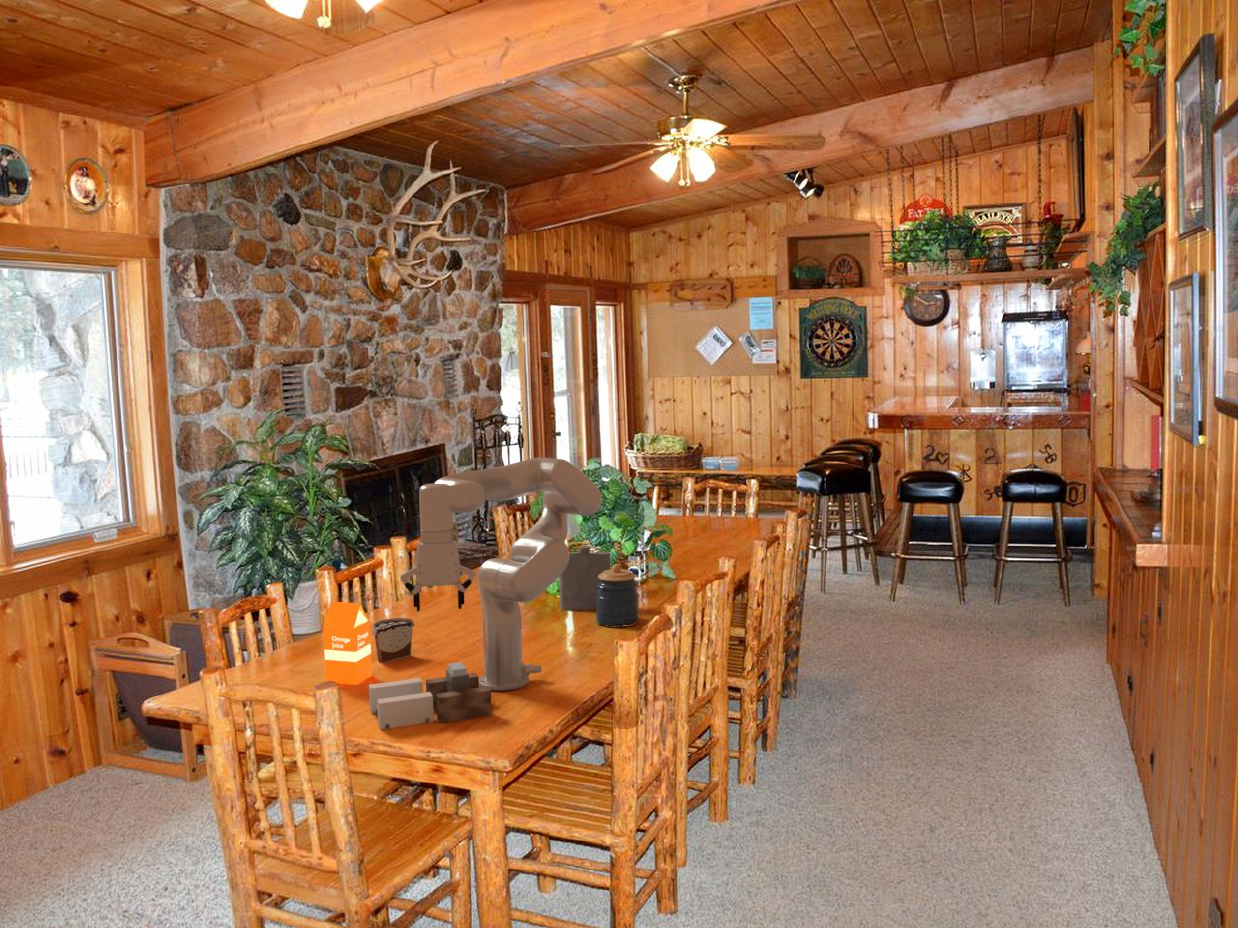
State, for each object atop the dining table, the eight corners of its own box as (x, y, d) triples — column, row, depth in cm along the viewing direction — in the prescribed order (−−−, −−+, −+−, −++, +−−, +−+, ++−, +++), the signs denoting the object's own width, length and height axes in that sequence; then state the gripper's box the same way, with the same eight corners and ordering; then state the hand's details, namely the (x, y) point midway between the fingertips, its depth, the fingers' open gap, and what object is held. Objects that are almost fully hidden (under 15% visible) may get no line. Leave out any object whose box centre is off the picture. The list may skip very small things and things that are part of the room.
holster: (475, 696, 265) (475, 672, 264) (491, 715, 252) (490, 690, 251) (426, 704, 260) (425, 679, 260) (440, 723, 248) (439, 697, 247)
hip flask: (610, 605, 348) (609, 543, 346) (611, 609, 344) (610, 546, 342) (560, 607, 347) (558, 545, 344) (560, 611, 343) (559, 548, 340)
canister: (631, 629, 321) (630, 570, 319) (589, 626, 325) (588, 567, 323) (644, 618, 333) (643, 561, 331) (604, 615, 337) (603, 558, 335)
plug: (463, 704, 260) (462, 661, 258) (470, 712, 254) (468, 668, 253) (447, 707, 258) (445, 663, 257) (453, 715, 253) (451, 670, 251)
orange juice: (341, 672, 285) (338, 597, 282) (372, 675, 283) (368, 599, 280) (325, 682, 278) (321, 605, 275) (356, 685, 275) (353, 607, 273)
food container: (403, 650, 304) (401, 614, 303) (415, 654, 300) (414, 618, 299) (364, 660, 296) (362, 624, 294) (376, 664, 291) (374, 628, 290)
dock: (420, 702, 262) (419, 677, 261) (433, 721, 249) (432, 695, 248) (369, 709, 257) (368, 684, 257) (380, 729, 245) (379, 703, 244)
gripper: (473, 532, 261) (475, 602, 263) (399, 535, 258) (401, 606, 260) (475, 538, 253) (477, 610, 255) (398, 541, 250) (401, 614, 252)
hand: (439, 608), depth 257 cm, fingers open, 9 cm apart
